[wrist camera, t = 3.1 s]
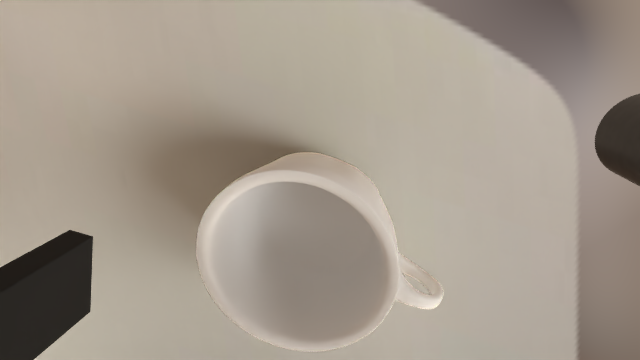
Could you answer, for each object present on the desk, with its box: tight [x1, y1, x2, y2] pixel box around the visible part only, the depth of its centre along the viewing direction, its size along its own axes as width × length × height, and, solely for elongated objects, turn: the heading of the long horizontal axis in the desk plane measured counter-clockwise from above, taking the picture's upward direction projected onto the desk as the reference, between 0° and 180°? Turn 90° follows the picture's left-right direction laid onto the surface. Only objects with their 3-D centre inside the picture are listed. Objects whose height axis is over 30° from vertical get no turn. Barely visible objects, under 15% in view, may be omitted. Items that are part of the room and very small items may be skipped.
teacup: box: [196, 152, 443, 352], centre depth 18 cm, size 10×8×5 cm
